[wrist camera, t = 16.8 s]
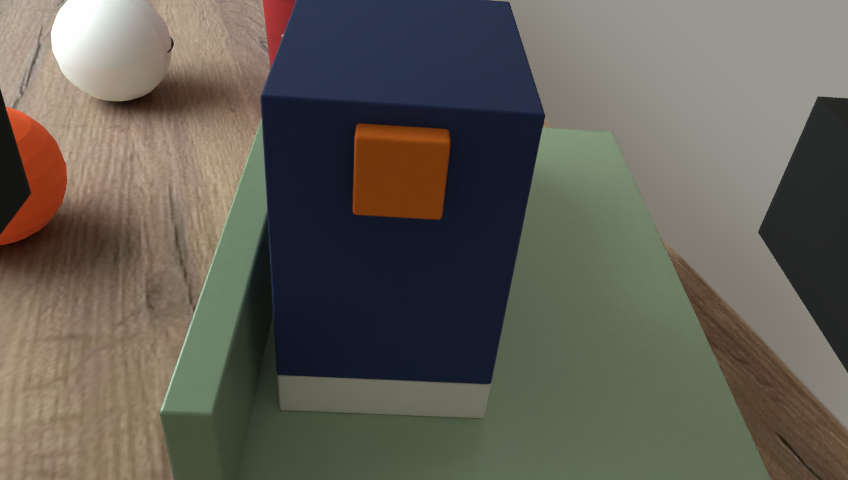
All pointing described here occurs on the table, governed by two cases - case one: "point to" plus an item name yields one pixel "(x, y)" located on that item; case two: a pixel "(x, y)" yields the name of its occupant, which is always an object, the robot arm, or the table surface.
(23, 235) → the clementine
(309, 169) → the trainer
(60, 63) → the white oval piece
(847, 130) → the robot arm
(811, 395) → the table surface
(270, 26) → the coffee cup
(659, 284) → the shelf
